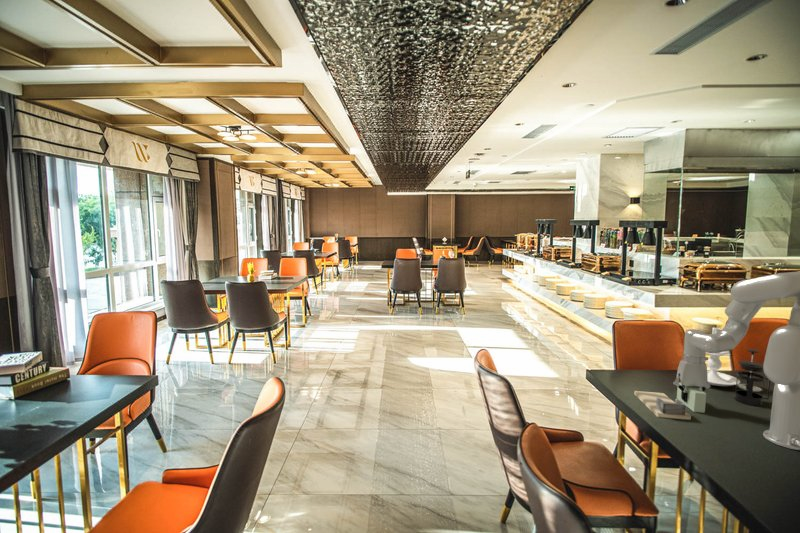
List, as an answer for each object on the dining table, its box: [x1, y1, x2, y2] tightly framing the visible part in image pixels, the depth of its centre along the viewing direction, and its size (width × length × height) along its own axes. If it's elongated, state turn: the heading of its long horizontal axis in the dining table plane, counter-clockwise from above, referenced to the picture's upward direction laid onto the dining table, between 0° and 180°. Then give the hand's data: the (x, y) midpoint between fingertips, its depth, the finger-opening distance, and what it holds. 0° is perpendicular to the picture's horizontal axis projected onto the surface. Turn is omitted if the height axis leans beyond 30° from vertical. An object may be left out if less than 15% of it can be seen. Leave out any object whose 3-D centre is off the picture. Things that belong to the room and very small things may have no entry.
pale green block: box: [676, 382, 707, 414], centre depth 174 cm, size 14×4×8 cm, turn 171°
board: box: [634, 390, 692, 421], centre depth 173 cm, size 23×12×6 cm, turn 171°
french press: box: [734, 348, 771, 407], centre depth 177 cm, size 12×9×23 cm
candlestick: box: [706, 327, 741, 387], centre depth 201 cm, size 21×25×28 cm
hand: (690, 400), depth 174 cm, fingers closed on pale green block, 4 cm apart
